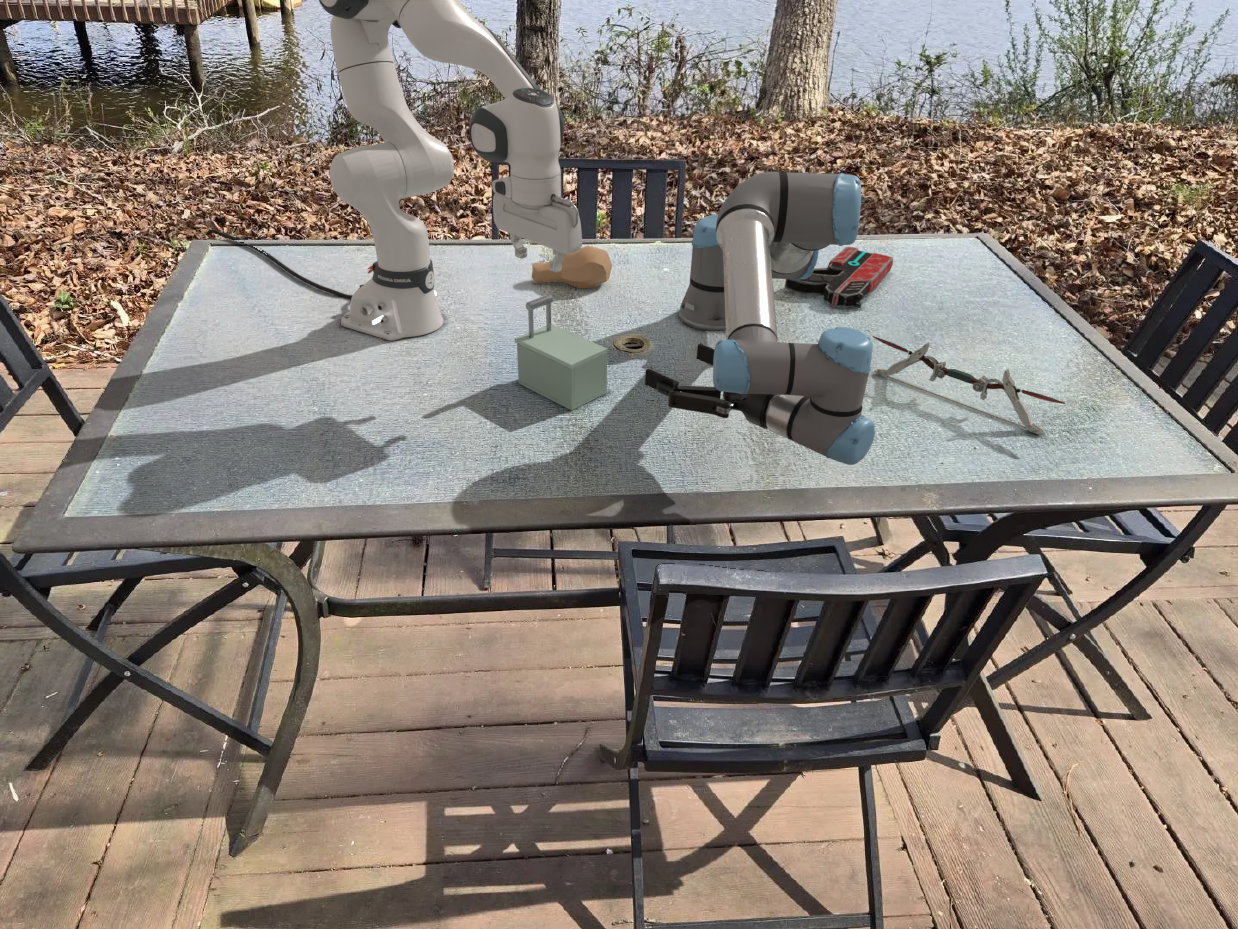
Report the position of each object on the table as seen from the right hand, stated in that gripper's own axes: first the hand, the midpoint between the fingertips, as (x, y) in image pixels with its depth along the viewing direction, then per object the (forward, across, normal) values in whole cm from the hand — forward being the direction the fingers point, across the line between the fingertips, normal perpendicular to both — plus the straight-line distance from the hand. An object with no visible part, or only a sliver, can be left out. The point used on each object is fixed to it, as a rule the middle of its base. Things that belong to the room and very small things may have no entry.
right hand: (672, 363), depth 149 cm
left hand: (+33, 0, +8) cm, 34 cm away
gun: (+18, +88, -15) cm, 91 cm away
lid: (+28, 0, -7) cm, 29 cm away
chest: (+28, 0, -16) cm, 32 cm away
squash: (+64, +39, -15) cm, 77 cm away
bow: (-30, +51, -16) cm, 61 cm away
